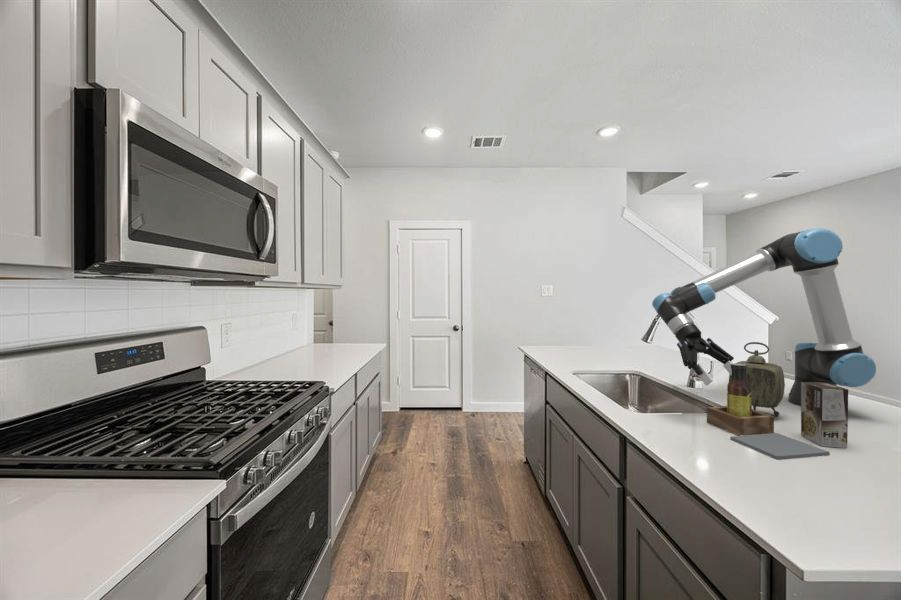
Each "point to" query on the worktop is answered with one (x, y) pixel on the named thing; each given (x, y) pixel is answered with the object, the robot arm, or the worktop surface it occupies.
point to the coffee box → (824, 414)
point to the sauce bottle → (739, 392)
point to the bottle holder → (740, 421)
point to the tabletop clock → (764, 380)
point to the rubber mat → (779, 446)
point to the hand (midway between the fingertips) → (725, 381)
